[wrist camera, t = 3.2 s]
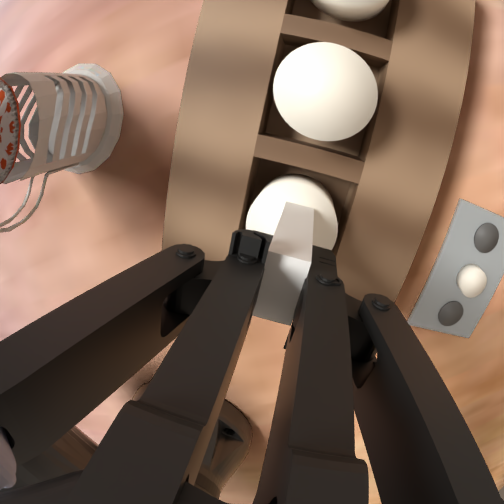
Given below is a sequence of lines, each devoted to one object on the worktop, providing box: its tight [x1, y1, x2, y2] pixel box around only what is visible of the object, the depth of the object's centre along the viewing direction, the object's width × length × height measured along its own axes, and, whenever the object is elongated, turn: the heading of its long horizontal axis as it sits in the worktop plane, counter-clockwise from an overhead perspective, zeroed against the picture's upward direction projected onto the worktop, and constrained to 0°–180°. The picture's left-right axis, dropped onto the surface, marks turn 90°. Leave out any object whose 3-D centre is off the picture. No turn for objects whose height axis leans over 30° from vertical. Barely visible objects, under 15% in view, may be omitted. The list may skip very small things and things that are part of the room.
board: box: [162, 0, 475, 303], centre depth 17 cm, size 26×16×4 cm, turn 168°
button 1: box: [246, 173, 338, 250], centre depth 19 cm, size 5×5×3 cm
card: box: [407, 198, 504, 338], centre depth 21 cm, size 11×7×2 cm, turn 168°
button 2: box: [273, 42, 378, 141], centre depth 15 cm, size 5×5×3 cm
